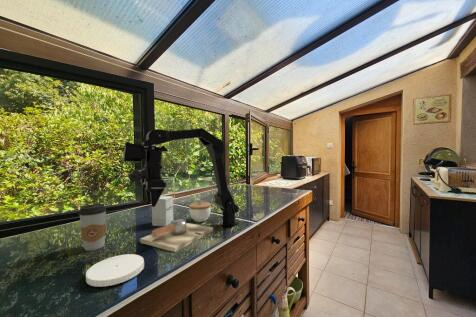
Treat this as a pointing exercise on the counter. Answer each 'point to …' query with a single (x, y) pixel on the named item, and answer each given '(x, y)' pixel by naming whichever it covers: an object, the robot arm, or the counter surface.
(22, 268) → the counter surface
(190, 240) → the coupling base
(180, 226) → the handle
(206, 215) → the lidded jar
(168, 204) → the supplement box
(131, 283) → the counter surface
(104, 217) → the coffee cup
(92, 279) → the plastic lid
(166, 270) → the counter surface
